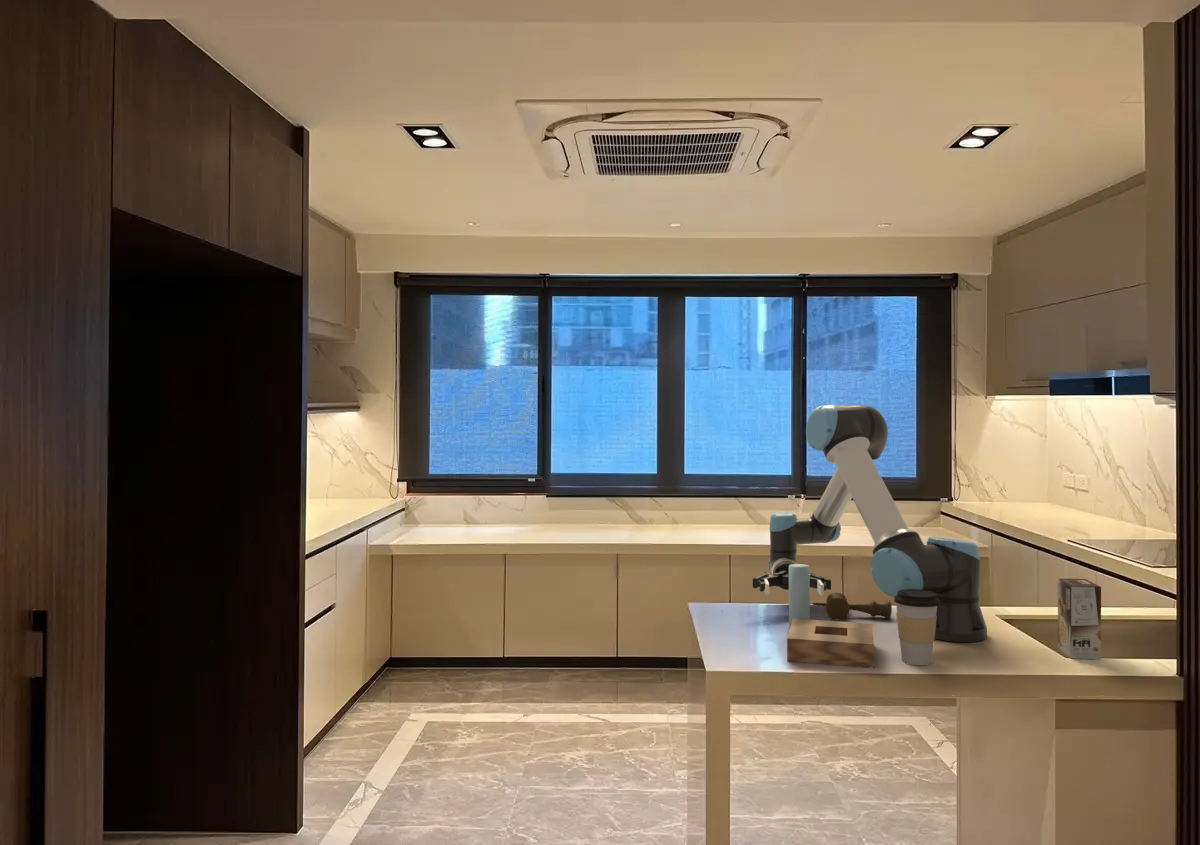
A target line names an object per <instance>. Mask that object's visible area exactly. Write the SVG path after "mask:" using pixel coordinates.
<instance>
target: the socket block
mask: <svg viewBox="0 0 1200 845" xmlns="http://www.w3.org/2000/svg"><path fill="white" fill-rule="evenodd" d="M787 634H788V635H787V638H786V639H787V640H786V643H787V644H786V645H787V646H786V651H787V653H786V654H787V655H786V656H787V657H786V662H791V661H794V662H793V663H804V662H806V663H808V664H818V665H819V664H820V665H821V664H822V665H832V666H833V665H834V666H843V665H846V667H856V666H862V667H861V668H869V667H874V668H875V641H874V629H873V623H868V622H853V621H852V622H851V621H839V620H820V619H819V620H818V619H810V620H807V619H792V623H791V627H790V630H789V629H788V633H787ZM795 661H796V662H795Z"/></svg>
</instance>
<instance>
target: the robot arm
mask: <svg viewBox="0 0 1200 845" xmlns="http://www.w3.org/2000/svg"><path fill="white" fill-rule="evenodd" d="M805 435H806V436H805V437H806V440H807V443H808V445H809V447H811V449H813V450H815V451H817V452H820V451H822V452H823V453H822V454H824V456H825V458H826V461H827V462H828V463H829V464H833V465H835V466H836V469H835V470H834V473H833V474H832V477H831V479H830V480H829V482H828V484H827V486H826V487H825V490H824V492H823V493H822V496H821V498H820V499H819V501H818V503H817V505H816V507H815V509H814V511H813V512H812V514H811V516H810V517H807V518H797V517H798V516H797V514H795V513H793V512H774V513H772V514H771V516H770V520H769V537H770V538H769V541H770V542H769V543H770V547H769V550H770V551H769V561H768V569H769V572H770V573H771V575H770V573H768V572H766V571H763V572H762V574H759V575H757V576H755V577H752V588H753V589H758V588H759V592H764V593H765V595H766V596H769V595H770V588H771V587H772V588H773V587H778V588H781V589H783V590H785V591H789V565H791V564H798V563H797V550H798V548H797V547H798V546H799V545H800V546H801V545H811V544H812V545H813V544H827V543H832V542H835V541H837V540H838V539H839V538H840V536H841V530H842V528H841V523H840V520H841V518H842V516H843V515H844V512H845V511H846V509H847V507H848V505H850V504H849V503H851V500H853V502H854V504H855V506H856V508H857V510H858V512H859V514H860V515H861V516H860V517H861V518H862V520H863V522H864V524H865V526H866V528H867V531H868V532H869V534H870V536H871V538H872V541H873V542H874V545H873V547H872V550H871V551H872V553H871V554H872V555H873V556H872V557H871V561H870V566H871V567H872V568H871V569H870V572H871V576H872V579H873V582H874V583H875V584H876V586H877V587H878V588H879V590H880V591H882V593H884V594H886V595H887V596H889V597H892V598H894V597H895V596H896V595H897V593H898V591H899V590H904V589H920V590H927V591H931V592H934V593H936V595H937V598H938V599H939V600H940V605H938V606H937V612H936V616H937V620H936V629H935V638H934V640H938V641H939V640H940V641H946V642H955V643H956V642H957V643H974V642H975V643H977V642H980V641H984V640H986V639H987V638H988V627H987V624H986V620H985V618H984V615H983V612H982V609H981V605H980V577H981V576H980V575H981V574H980V572H981V571H980V570H981V568H980V567H981V566H980V565H981V564H980V562H981V558H980V549H979V548H980V547H979V546H978V545H977V544H976V543H974V542H971V541H969V540H968V541H966V540H962V539H954V538H945V537H938V536H937V537H936V536H930V537H928V538H927V541H926V544H925V543H924V542H923V540H922V538H921V536H920V534H919V533H918V532H917V531H916V530H913V529H909V528H908V525H907V524H906V521H905V520H904V518H903V516H902V513H901V512H900V511H899V509H898V506H897V504H896V503H895V501H894V498H893V497H892V494H891V493H890V490H889V489H888V487H887V485H886V484H885V482H884V480H883V477H882V476H881V474H880V472H879V470H878V468H877V466H876V464H875V462H874V461H877V460H878V459H879V458H880V457H881V455H882V453H883V452H884V449H885V447H886V445H887V441H888V436H889V429H888V425H887V421H886V419H885V417H884V416H883V415H882V413H881V412H880V411H878V409H876V408H874V407H872V406H870V405H868V404H867V405H866V404H858V405H849V404H848V405H847V404H846V405H841V404H840V405H835V404H828V405H820V406H818V407H816V408H814V409H813V411H811V413H810V414H809V417H808V419H807V421H806V427H805ZM810 588H812V589H816V590H817V592H818V594H819V595H820V596H821V597H824V596H825V591H827V590H829V591H830V590H832V580H831V579H830V578H826V577H825V576H820V575H817V574H816V573H813V572H810Z"/></svg>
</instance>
